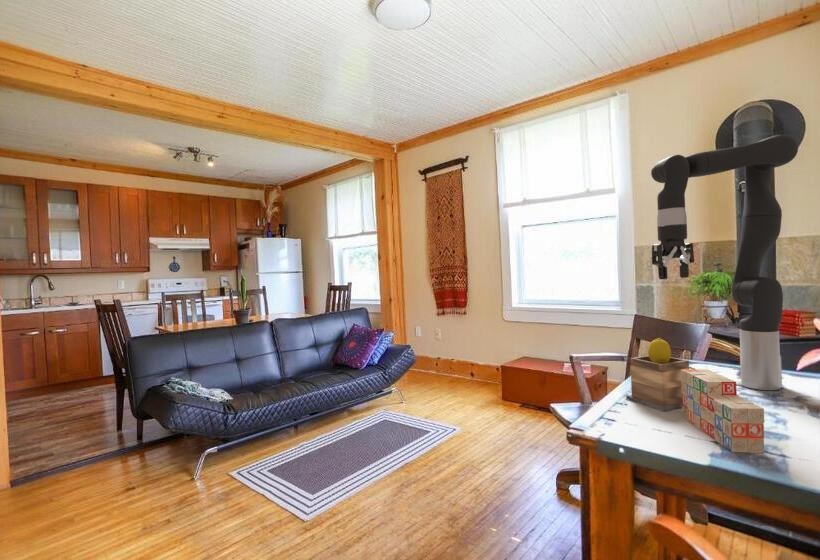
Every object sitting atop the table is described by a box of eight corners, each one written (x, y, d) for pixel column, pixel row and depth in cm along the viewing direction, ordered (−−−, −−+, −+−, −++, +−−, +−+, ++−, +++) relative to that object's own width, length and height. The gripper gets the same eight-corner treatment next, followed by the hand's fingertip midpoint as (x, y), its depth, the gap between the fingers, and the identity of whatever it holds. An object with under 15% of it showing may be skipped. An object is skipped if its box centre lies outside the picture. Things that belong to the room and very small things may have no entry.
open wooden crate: (657, 393, 125) (656, 353, 125) (696, 404, 114) (695, 360, 114) (626, 399, 121) (624, 357, 121) (663, 411, 110) (661, 366, 110)
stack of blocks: (766, 454, 84) (764, 393, 84) (731, 453, 85) (729, 393, 85) (709, 416, 105) (707, 368, 105) (681, 416, 106) (680, 368, 106)
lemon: (674, 368, 114) (674, 339, 114) (652, 368, 115) (651, 339, 115) (666, 364, 120) (665, 336, 120) (645, 364, 121) (644, 336, 121)
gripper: (677, 225, 131) (679, 277, 132) (643, 226, 127) (645, 279, 127) (701, 222, 124) (703, 277, 125) (665, 223, 120) (667, 279, 120)
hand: (673, 278), depth 126 cm, fingers open, 8 cm apart
